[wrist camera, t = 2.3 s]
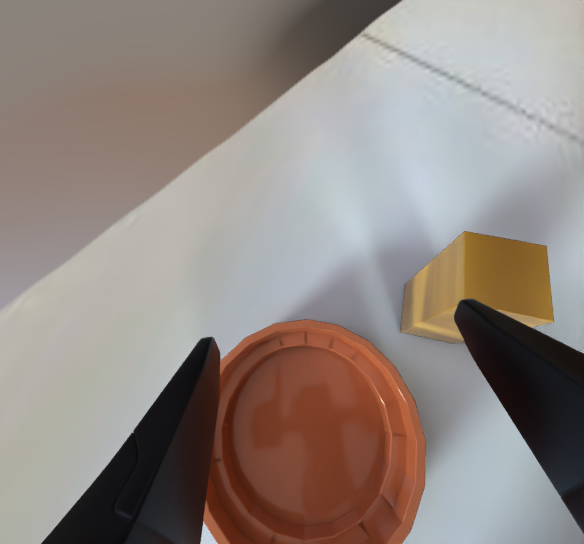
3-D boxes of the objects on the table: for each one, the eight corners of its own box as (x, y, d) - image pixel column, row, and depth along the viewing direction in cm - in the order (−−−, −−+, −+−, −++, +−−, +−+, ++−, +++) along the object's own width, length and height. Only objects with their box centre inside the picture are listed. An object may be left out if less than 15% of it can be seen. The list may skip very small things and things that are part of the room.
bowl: (430, 384, 22) (456, 386, 18) (354, 607, 17) (368, 669, 14) (270, 299, 25) (264, 286, 21) (170, 470, 21) (141, 491, 17)
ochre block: (454, 294, 25) (547, 245, 15) (453, 344, 23) (555, 322, 14) (404, 284, 25) (464, 230, 16) (399, 331, 24) (462, 303, 14)
